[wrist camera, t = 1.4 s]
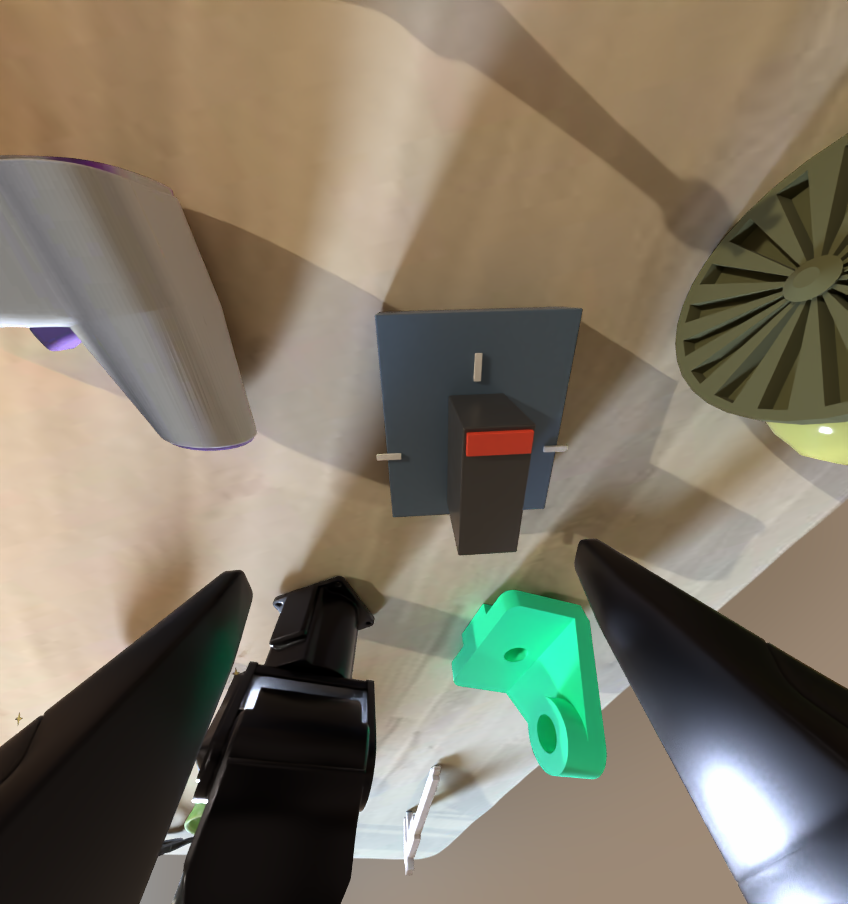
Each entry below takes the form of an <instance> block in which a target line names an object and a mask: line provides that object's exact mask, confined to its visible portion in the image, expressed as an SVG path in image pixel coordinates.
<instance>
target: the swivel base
mask: <svg viewBox="0 0 848 904" xmlns="http://www.w3.org/2000/svg"><path fill="white" fill-rule="evenodd" d="M582 310H583V309H582V308H569V307H534V308H500V309H466V310H432V311H398V312H379V313H377V314H376V315H375V321H376V332H377V344H378V355H379V366H380V377H381V389H382V400H383V411H384V423H385V434H386V445H387V454H377V461H381V460H388V468H389V479H390V490H391V501H392V513H393V517H408V516H425V515H442V514H450V513H449V509H448V504H447V477H448V398H449V396H451V395H475V394H499V393H504V394H505V395H506V396H507V397H508V398H509V399H510V400H511V401H512V402H513V403H514V404H515V405H516V406H517V407H518V408H519V409H520V410H521V411H522V412H523V413H524V414H525V415H526V416H527V417H528V418H529V419H530V420H532V421H533V422H534V423H535V425H536V427H535V434H534V440H533V447H532V453H531V460H530V466H529V473H528V479H527V486H526V493H525V499H524V506H523V510H528V509H544V508H545V503H546V497H547V492H548V487H549V482H550V477H551V471H552V466H553V461H554V456H555V452H561V451H567V449H568V445H557V440H558V435H559V430H560V425H561V419H562V414H563V409H564V404H565V399H566V393H567V388H568V383H569V378H570V373H571V367H572V362H573V357H574V352H575V347H576V341H577V336H578V331H579V326H580V321H581V315H582Z"/></svg>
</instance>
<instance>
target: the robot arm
mask: <svg viewBox="0 0 848 904" xmlns="http://www.w3.org/2000/svg"><path fill="white" fill-rule="evenodd" d="M574 564H575V569H576V572H577V575H578V577H579V579H580V582H581V584H582V587H583V589H584V591H585V594H586V596H587V599H588V601H589V603H590V606H591V608H592V610H593V613H594V615H595V618H596V620H597V622H598V624H599V626H600V628H601V630H602V632H603V634H604V636H605V638H606V640H607V642H608V644H609V646H610V647H611V649H612V651H613V653H614V655H615V657H616V659H617V661H618V662H619V664H620V666H621V668H622V670H623V672H624V674H625V675H626V677H627V679H628V681H629V683H630V685H631V687H632V688H633V690H634V692H635V694H636V696H637V698H638V700H639V701H640V703H641V705H642V707H643V709H644V711H645V713H646V715H647V716H648V718H649V720H650V722H651V724H652V726H653V727H654V729H655V731H656V733H657V735H658V737H659V739H660V741H661V742H662V744H663V746H664V748H665V750H666V752H667V754H668V755H669V757H670V759H671V761H672V763H673V765H674V766H675V768H676V770H677V772H678V774H679V776H680V778H681V780H682V781H683V783H684V785H685V787H686V788H687V791H688V793H689V794H690V796H691V798H692V800H693V802H694V804H695V806H696V807H697V809H698V811H699V813H700V815H701V817H702V819H703V821H704V822H705V824H706V826H707V828H708V830H709V832H710V833H711V836H712V837H713V839H714V841H715V843H716V845H717V847H718V849H719V850H720V852H721V854H722V856H723V858H724V859H725V862H726V863H727V865H728V867H729V869H730V870H731V873H732V875H733V876H734V878H735V880H736V881H737V882H738V886H739V888H740V890H741V892H742V894H743V896H744V897H745V899H746V901H747V903H748V904H848V689H847V688H845V687H843V686H842V685H840V684H838V683H836V682H835V681H833V680H831V679H829V678H828V677H826V676H824V675H823V674H821V673H819V672H818V671H816V670H814V669H812V668H811V667H809V666H807V665H805V664H804V663H802V662H801V661H799V660H797V659H795V658H794V657H792V656H790V655H789V654H787V653H785V652H784V651H782V650H780V649H779V648H777V647H775V646H774V645H772V644H770V643H766V642H765V640H764V639H762V638H760V637H759V636H757V635H755V634H754V633H752V632H750V631H749V630H747V629H745V628H744V627H742V626H740V625H739V624H737V623H735V622H734V621H732V620H730V619H729V618H727V617H726V616H724V615H722V614H720V613H719V612H717V611H716V610H714V609H712V608H711V607H709V606H707V605H706V604H704V603H702V602H701V601H699V600H697V599H696V598H694V597H692V596H691V595H689V594H687V593H686V592H684V591H682V590H681V589H679V588H677V587H676V586H674V585H672V584H671V583H669V582H668V581H666V580H664V579H663V578H661V577H659V576H658V575H656V574H654V573H653V572H651V571H649V570H648V569H646V568H644V567H643V566H641V565H639V564H638V563H636V562H634V561H633V560H631V559H629V558H628V557H626V556H624V555H623V554H621V553H619V552H618V551H616V550H614V549H613V548H611V547H609V546H608V545H606V544H605V543H603V542H601V541H599V540H598V539H584V540H581V541H580V542H579V544H578V548H577V553H576V557H575V562H574ZM338 582H339V583H338ZM252 598H253V593H252V589H251V587H250V585H249V582H248V580H247V578H246V576H245V574H244V572H243V571H241V570H233V571H225V572H223V573H222V574H220V575H219V576H218V577H216V578H215V579H214V580H213V581H211V582H210V583H209V584H208V585H206V586H205V587H204V588H202V589H201V590H200V591H199V592H197V593H196V594H195V595H194V596H192V597H191V598H190V599H188V600H187V601H186V602H185V603H183V604H182V605H181V606H180V607H178V608H177V609H176V610H174V611H173V612H172V613H171V614H169V615H168V616H167V617H165V618H164V619H163V620H162V621H160V622H159V623H158V624H157V625H155V626H154V627H153V628H151V629H150V630H149V631H148V632H146V633H145V634H144V635H143V636H141V637H140V638H139V639H137V640H136V641H135V642H134V643H132V644H131V645H130V646H129V647H127V648H126V649H125V650H123V651H122V652H121V653H120V654H118V655H117V656H116V657H115V658H113V659H112V660H111V661H109V662H108V663H107V664H106V665H104V666H103V667H102V668H100V669H99V670H98V671H97V672H95V673H94V674H93V675H92V676H90V677H89V678H88V679H86V680H85V681H84V682H83V683H81V684H80V685H79V686H78V687H76V688H75V689H74V690H72V691H71V692H70V693H69V694H67V695H66V696H65V697H63V698H62V699H61V700H60V701H58V702H57V703H56V704H55V705H53V706H52V707H51V708H49V709H48V710H47V711H46V712H45V713H44V715H43V716H39V717H38V718H37V719H35V720H34V721H33V722H31V723H30V724H29V725H28V726H26V727H25V728H24V729H23V730H21V731H20V732H19V733H17V734H16V735H15V736H14V737H12V738H11V739H10V740H8V741H7V742H6V743H5V744H3V745H2V746H1V747H0V904H139V903H140V901H141V898H142V896H143V893H144V891H145V888H146V886H147V883H148V880H149V878H150V875H151V873H152V870H153V868H154V865H155V863H156V860H157V858H158V855H159V852H160V850H161V847H162V845H163V842H164V840H165V837H166V835H167V832H168V830H169V827H170V824H171V822H172V819H173V817H174V814H175V812H176V809H177V807H178V804H179V802H180V799H181V796H182V794H183V791H184V789H185V786H186V784H187V781H188V779H189V776H190V774H191V771H192V768H193V766H194V763H195V761H196V763H197V766H198V770H199V773H198V776H197V779H196V782H198V785H197V788H196V791H195V794H194V797H193V800H192V802H195V803H206V805H205V808H204V811H203V813H202V816H201V819H200V821H199V824H198V827H197V829H196V832H195V835H194V838H193V840H192V843H191V846H190V848H189V851H188V854H187V856H186V860H185V863H184V870H183V904H341V902H342V899H343V897H344V894H345V892H346V889H347V887H348V885H349V882H350V879H351V872H352V863H353V854H354V844H355V835H356V828H357V822H358V816H359V812H361V811H362V810H363V809H364V807H365V805H366V803H367V800H368V797H369V793H370V790H371V785H372V780H373V774H374V768H375V759H376V719H375V693H374V681H372V680H366V681H362V680H356V679H352V672H353V664H354V657H355V650H356V642H357V635H358V630H361V629H364V628H367V627H370V626H372V625H373V624H374V617H373V616H372V614H371V613H370V612H369V610H368V609H367V608H366V606H365V605H364V604H363V602H362V601H361V600H360V598H359V597H358V596H357V594H356V593H355V592H354V590H353V589H352V588H351V586H350V585H349V584H348V582H347V581H346V580H345V579H344V578H343V577H341V576H337V577H333V578H330V579H328V580H325V581H322V582H319V583H316V584H313V585H310V586H307V587H304V588H301V589H298V590H295V591H292V592H289V593H286V594H283V595H280V596H277V597H276V598H275V599H274V602H273V605H274V607H275V608H276V609H277V610H278V611H279V612H280V616H279V619H278V621H277V624H276V626H275V629H274V632H273V634H272V637H271V639H270V643H269V644H270V645H271V648H270V651H269V654H268V656H267V659H266V662H265V664H264V665H259V664H258V663H257V662H251V661H250V663H249V665H248V667H247V669H246V671H244V672H243V673H240V674H237V675H235V676H234V678H233V680H232V682H231V685H230V687H229V689H228V691H227V694H226V696H225V698H224V700H223V702H222V704H221V706H220V708H219V710H218V712H217V714H216V716H215V718H214V720H213V721H212V723H211V720H212V718H213V715H214V712H215V710H216V707H217V705H218V702H219V700H220V697H221V695H222V692H223V690H224V687H225V684H226V682H227V679H228V677H229V674H230V672H231V669H232V666H233V664H234V661H235V657H236V654H237V651H238V648H239V644H240V641H241V637H242V634H243V630H244V627H245V623H246V620H247V616H248V613H249V609H250V606H251V602H252ZM244 709H245V710H244ZM210 723H211V725H210ZM209 725H210V727H209ZM208 728H209V729H208ZM207 730H208V731H207Z"/></svg>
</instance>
